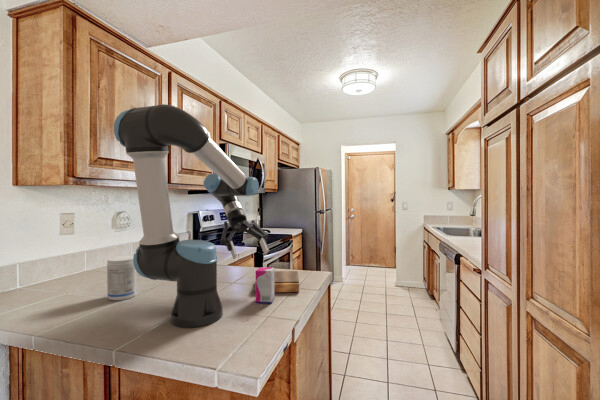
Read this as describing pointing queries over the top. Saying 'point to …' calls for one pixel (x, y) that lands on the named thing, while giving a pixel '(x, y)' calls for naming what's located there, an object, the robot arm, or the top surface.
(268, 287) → the supplement box
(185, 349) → the top surface
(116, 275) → the supplement tub
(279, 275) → the dock
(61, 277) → the top surface
